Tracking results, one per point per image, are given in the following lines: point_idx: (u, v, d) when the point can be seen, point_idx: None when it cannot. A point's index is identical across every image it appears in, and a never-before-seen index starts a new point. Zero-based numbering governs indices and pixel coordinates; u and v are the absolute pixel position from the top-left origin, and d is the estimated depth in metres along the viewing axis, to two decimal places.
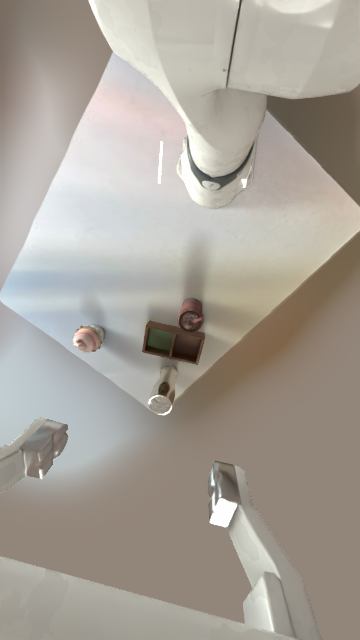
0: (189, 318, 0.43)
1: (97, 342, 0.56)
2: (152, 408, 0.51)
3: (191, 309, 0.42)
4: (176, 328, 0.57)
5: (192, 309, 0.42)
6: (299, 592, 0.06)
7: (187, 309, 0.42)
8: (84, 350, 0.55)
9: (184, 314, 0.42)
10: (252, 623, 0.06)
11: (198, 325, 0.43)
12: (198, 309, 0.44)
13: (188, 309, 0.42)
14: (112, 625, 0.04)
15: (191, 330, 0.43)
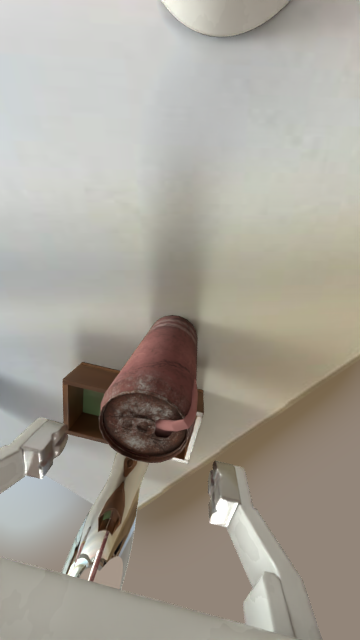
0: (141, 416, 0.11)
1: None
2: None
3: (147, 384, 0.10)
4: None
5: (151, 384, 0.10)
6: (299, 592, 0.06)
7: (131, 383, 0.10)
8: None
9: (120, 402, 0.11)
10: (252, 623, 0.06)
11: (177, 440, 0.11)
12: (179, 372, 0.12)
13: (134, 383, 0.10)
14: (112, 625, 0.04)
15: (152, 454, 0.12)
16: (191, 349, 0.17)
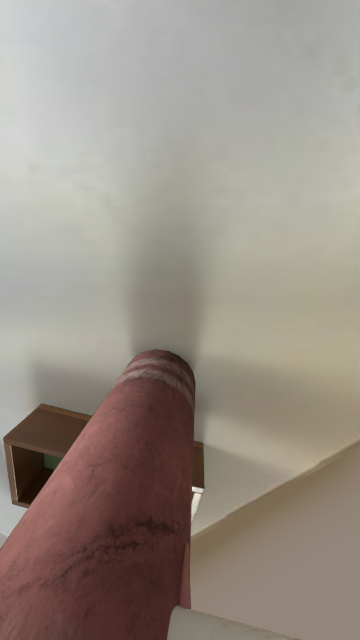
0: None
1: None
2: None
3: None
4: None
5: None
6: None
7: None
8: None
9: None
10: None
11: None
12: (143, 571, 0.05)
13: None
14: None
15: None
16: (183, 431, 0.09)
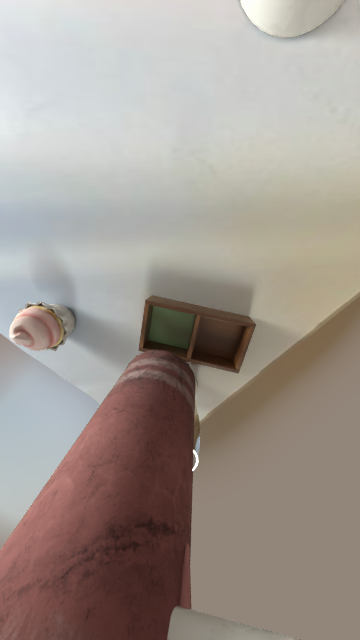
0: None
1: (56, 332, 0.31)
2: None
3: None
4: (200, 308, 0.31)
5: None
6: None
7: None
8: (31, 347, 0.30)
9: None
10: None
11: None
12: (144, 572, 0.05)
13: None
14: None
15: None
16: (183, 431, 0.09)
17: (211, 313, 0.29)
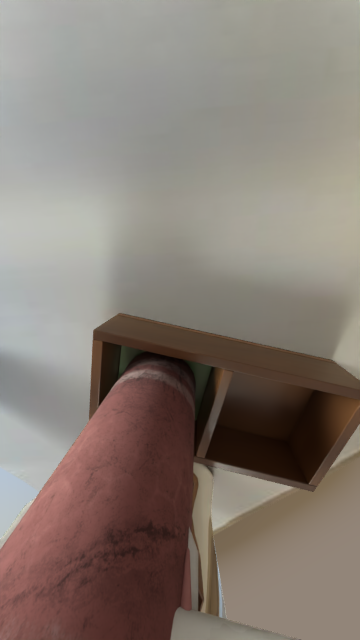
0: None
1: None
2: None
3: None
4: (226, 343, 0.14)
5: None
6: (190, 563, 0.06)
7: None
8: None
9: None
10: None
11: None
12: (143, 578, 0.04)
13: None
14: None
15: None
16: (183, 432, 0.09)
17: (259, 363, 0.12)
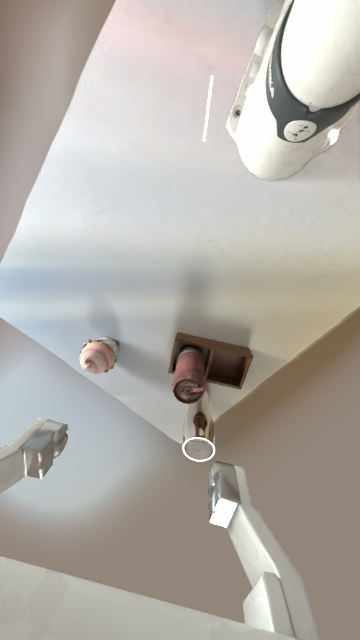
0: (187, 387, 0.33)
1: (111, 361, 0.43)
2: (187, 452, 0.38)
3: (190, 376, 0.32)
4: (213, 342, 0.44)
5: (191, 376, 0.32)
6: (299, 592, 0.06)
7: (184, 376, 0.33)
8: (94, 372, 0.42)
9: (180, 382, 0.33)
10: (252, 623, 0.06)
11: (199, 395, 0.33)
12: (199, 372, 0.34)
13: (186, 376, 0.32)
14: (112, 626, 0.04)
15: (190, 400, 0.34)
16: (201, 363, 0.39)
17: (221, 347, 0.42)
